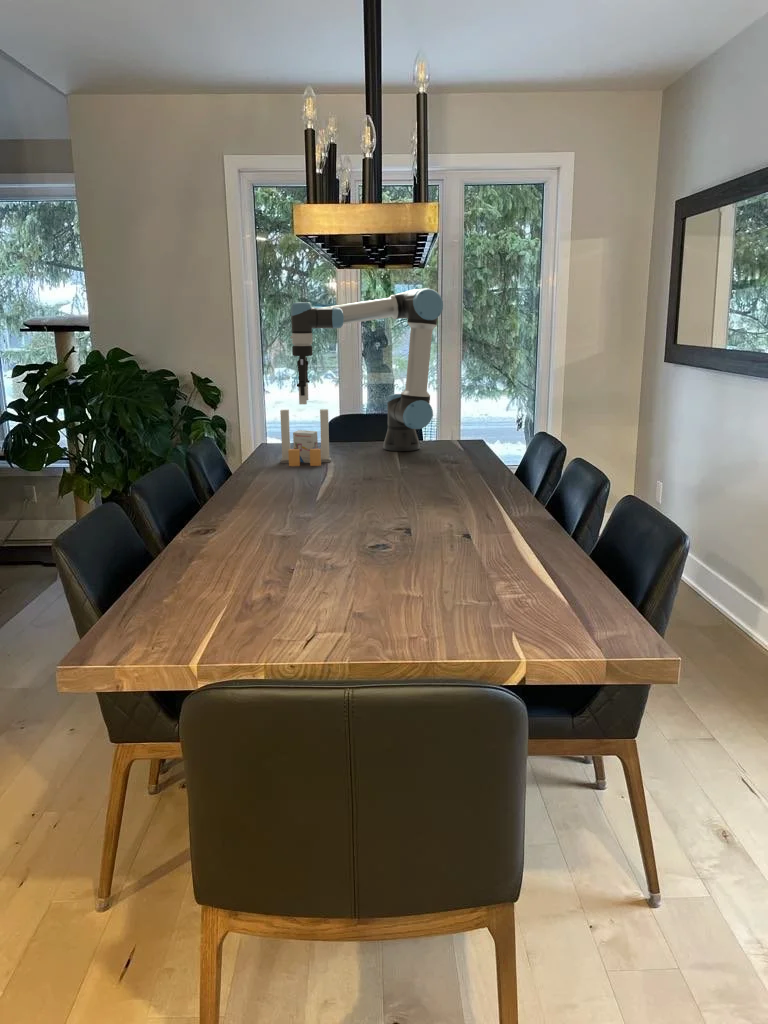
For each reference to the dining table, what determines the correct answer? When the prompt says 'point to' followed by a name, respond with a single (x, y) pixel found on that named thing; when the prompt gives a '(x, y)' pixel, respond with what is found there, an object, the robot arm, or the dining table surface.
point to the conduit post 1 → (285, 435)
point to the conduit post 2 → (324, 435)
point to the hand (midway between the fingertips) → (303, 402)
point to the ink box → (305, 443)
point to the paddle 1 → (294, 457)
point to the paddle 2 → (315, 457)
